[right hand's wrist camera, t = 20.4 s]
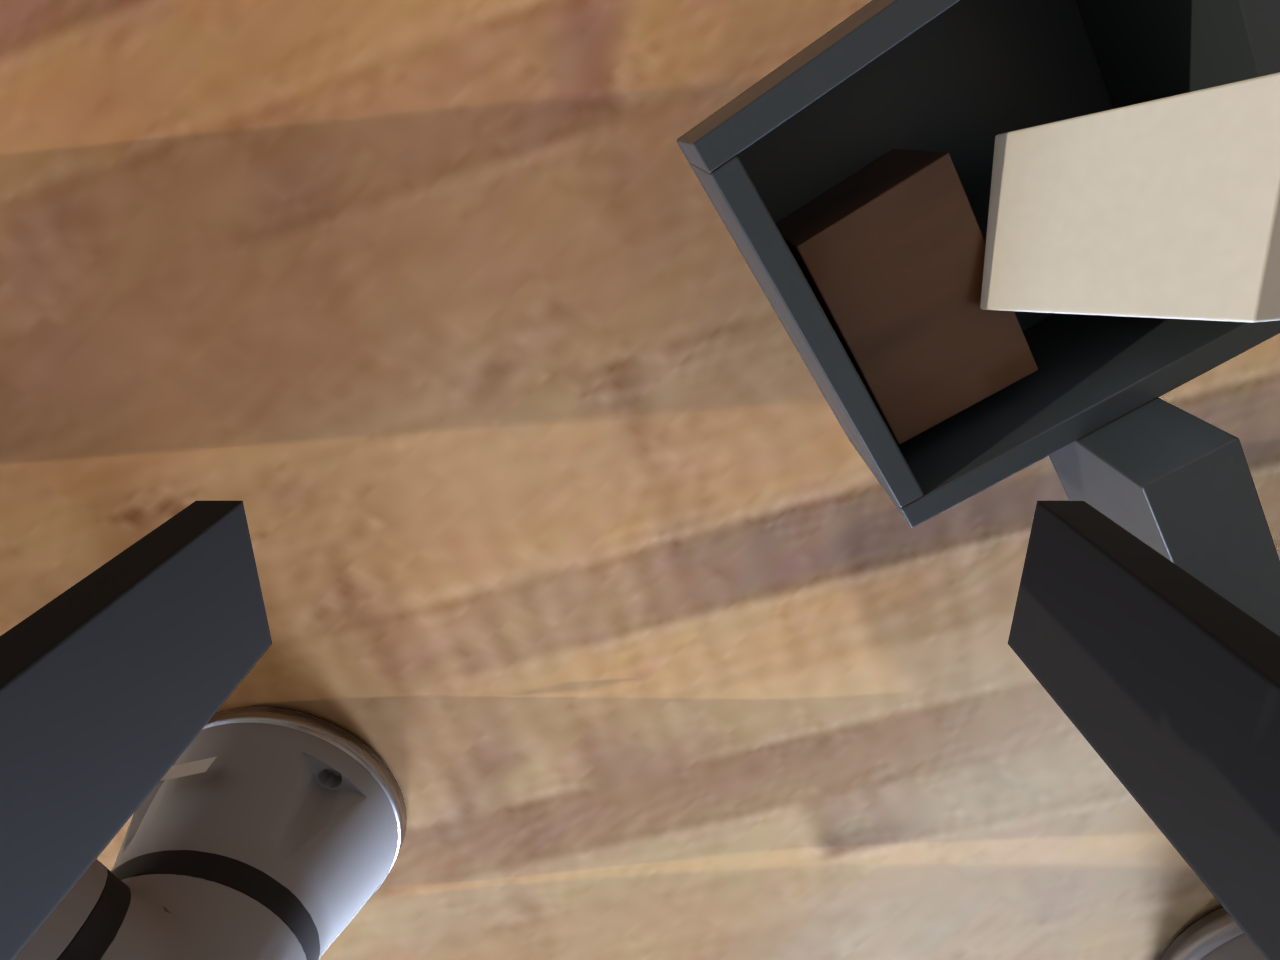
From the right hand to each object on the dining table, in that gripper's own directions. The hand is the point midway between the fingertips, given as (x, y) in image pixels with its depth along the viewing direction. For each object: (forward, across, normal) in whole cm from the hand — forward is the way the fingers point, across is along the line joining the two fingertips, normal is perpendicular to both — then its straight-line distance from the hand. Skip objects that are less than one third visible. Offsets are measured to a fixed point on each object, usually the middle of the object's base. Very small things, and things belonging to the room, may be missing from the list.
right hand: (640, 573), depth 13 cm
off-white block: (+11, -12, -5) cm, 17 cm away
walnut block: (+12, -6, -6) cm, 15 cm away
